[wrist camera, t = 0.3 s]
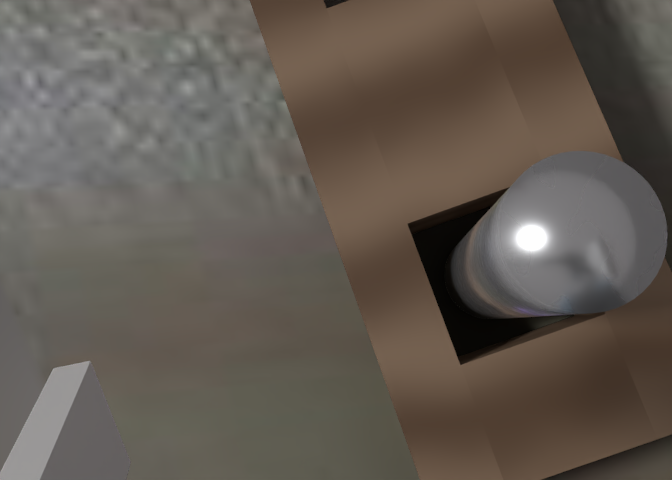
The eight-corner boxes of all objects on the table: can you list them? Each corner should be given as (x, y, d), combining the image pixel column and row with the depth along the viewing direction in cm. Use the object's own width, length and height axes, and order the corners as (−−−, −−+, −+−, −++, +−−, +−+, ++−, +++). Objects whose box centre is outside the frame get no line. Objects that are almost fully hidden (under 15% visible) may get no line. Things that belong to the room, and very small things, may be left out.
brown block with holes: (683, 400, 28) (733, 413, 24) (426, 490, 28) (433, 516, 24) (427, -201, 33) (433, -273, 29) (209, -119, 33) (186, -180, 29)
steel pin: (545, 302, 29) (695, 280, 15) (462, 331, 29) (535, 336, 15) (512, 220, 30) (627, 128, 16) (431, 250, 30) (474, 183, 16)
